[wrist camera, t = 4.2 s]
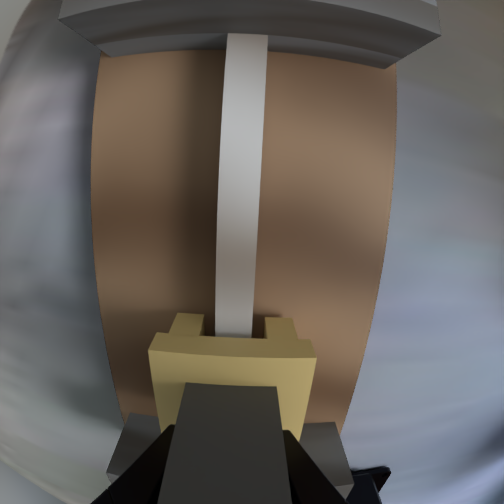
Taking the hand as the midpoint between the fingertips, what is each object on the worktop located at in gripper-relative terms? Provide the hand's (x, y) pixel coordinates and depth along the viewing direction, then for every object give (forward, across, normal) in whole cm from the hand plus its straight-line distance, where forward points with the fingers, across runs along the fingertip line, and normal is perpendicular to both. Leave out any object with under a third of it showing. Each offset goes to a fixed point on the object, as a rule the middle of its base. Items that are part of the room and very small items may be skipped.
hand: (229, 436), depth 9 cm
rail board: (+6, 0, -4) cm, 7 cm away
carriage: (+4, 0, 0) cm, 4 cm away
